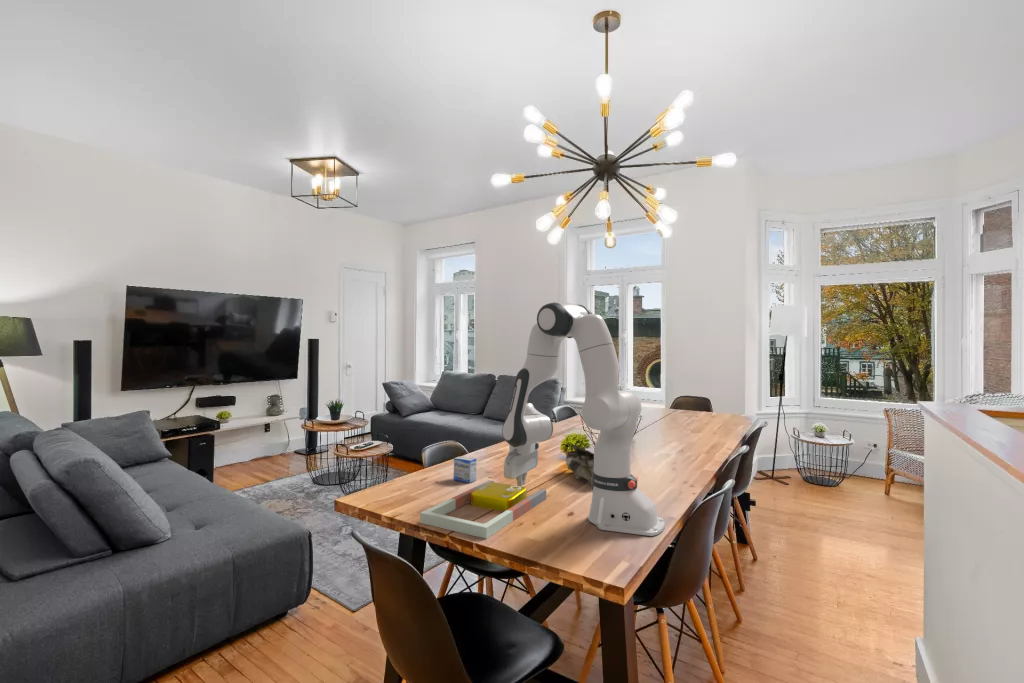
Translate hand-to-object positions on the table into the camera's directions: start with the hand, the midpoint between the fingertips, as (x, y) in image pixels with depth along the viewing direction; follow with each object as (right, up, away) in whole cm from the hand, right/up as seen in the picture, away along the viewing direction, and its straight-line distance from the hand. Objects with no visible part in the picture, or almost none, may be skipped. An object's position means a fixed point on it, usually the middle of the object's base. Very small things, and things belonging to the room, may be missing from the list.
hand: (521, 485), depth 174 cm
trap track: (-11, -2, -20) cm, 23 cm away
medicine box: (-22, -2, +13) cm, 25 cm away
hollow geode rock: (+27, -3, +17) cm, 33 cm away
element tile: (-8, -3, -12) cm, 14 cm away
